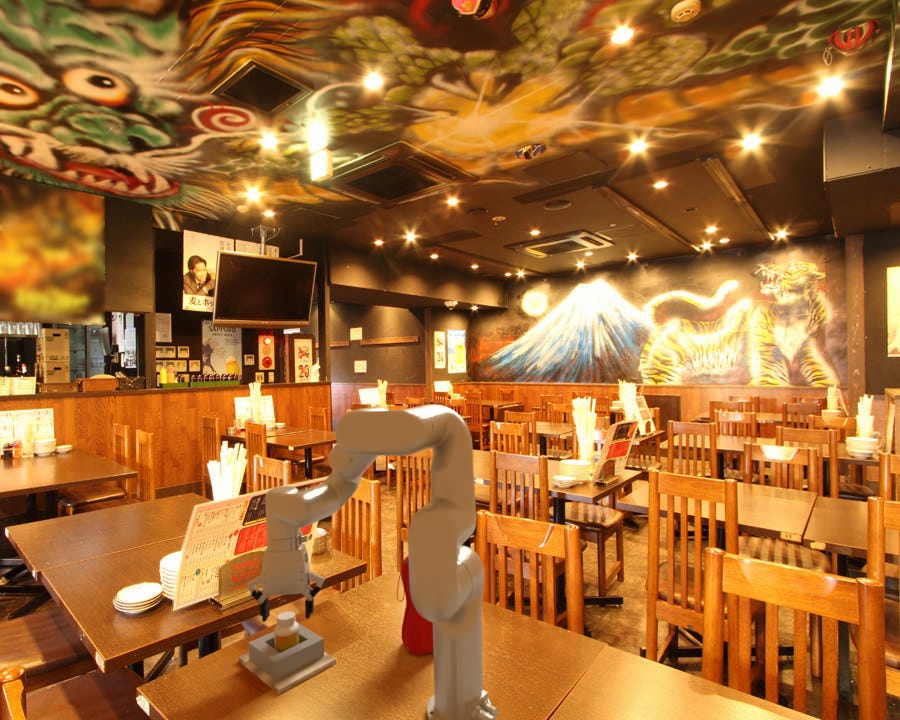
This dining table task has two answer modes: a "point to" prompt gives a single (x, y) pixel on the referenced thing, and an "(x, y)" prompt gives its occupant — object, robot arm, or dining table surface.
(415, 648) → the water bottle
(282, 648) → the supplement bottle
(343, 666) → the dining table surface
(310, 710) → the dining table surface
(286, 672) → the socket holder
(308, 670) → the gray tray
